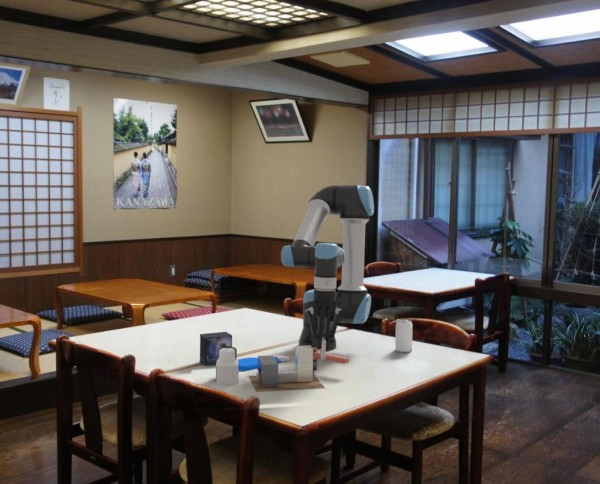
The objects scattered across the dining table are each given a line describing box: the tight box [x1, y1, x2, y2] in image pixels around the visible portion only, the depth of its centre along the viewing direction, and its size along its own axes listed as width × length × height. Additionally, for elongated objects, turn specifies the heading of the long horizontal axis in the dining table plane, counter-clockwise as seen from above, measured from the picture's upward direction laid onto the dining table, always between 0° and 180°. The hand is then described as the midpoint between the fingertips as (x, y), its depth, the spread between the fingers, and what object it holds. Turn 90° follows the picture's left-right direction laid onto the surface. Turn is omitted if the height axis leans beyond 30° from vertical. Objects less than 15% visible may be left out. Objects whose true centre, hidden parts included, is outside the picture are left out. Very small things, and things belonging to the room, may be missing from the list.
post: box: [313, 360, 318, 372], centre depth 238 cm, size 3×3×5 cm
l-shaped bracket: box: [255, 345, 314, 384], centre depth 223 cm, size 4×18×11 cm, turn 102°
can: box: [394, 318, 413, 353], centre depth 270 cm, size 6×6×12 cm
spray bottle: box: [237, 353, 290, 372], centre depth 247 cm, size 3×11×24 cm
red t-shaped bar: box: [312, 347, 350, 365], centre depth 235 cm, size 18×7×3 cm, turn 52°
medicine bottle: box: [215, 346, 239, 385], centre depth 224 cm, size 7×7×12 cm
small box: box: [199, 331, 233, 366], centre depth 250 cm, size 11×6×10 cm, turn 117°
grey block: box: [257, 355, 279, 388], centre depth 222 cm, size 11×5×8 cm, turn 12°
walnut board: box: [248, 372, 326, 393], centre depth 223 cm, size 18×22×1 cm
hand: (322, 358), depth 232 cm, fingers closed
